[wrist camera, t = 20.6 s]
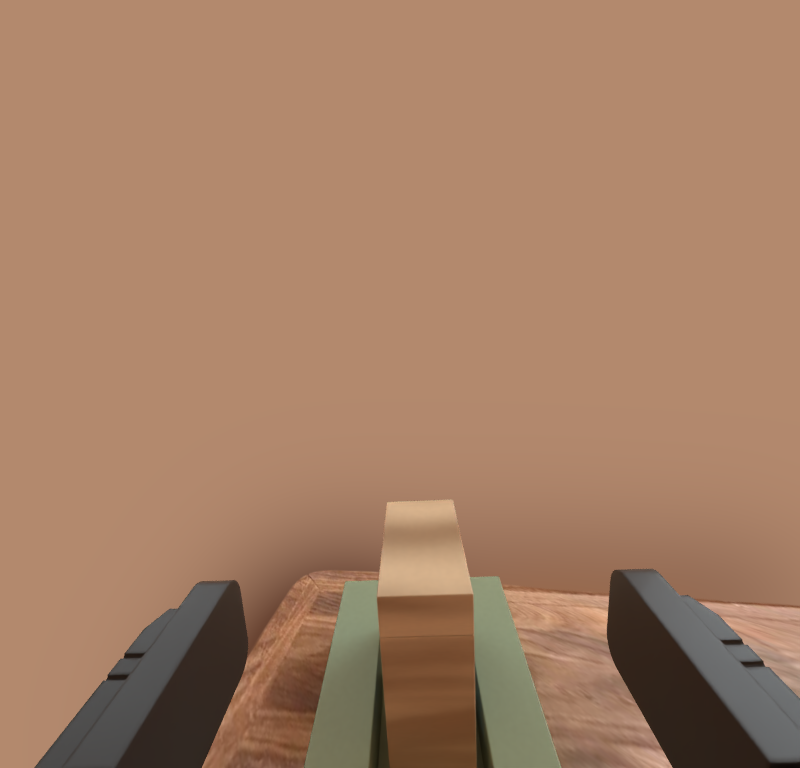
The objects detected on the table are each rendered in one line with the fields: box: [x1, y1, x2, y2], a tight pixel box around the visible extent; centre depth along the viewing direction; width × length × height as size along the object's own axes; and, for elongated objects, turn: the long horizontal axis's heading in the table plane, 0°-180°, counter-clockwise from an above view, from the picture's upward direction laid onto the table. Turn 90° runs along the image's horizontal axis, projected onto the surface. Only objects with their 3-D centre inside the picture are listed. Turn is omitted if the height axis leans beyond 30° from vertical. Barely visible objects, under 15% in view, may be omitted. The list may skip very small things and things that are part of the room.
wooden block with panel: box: [377, 500, 477, 768], centre depth 22 cm, size 8×4×12 cm, turn 179°
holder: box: [304, 576, 561, 768], centre depth 23 cm, size 16×12×4 cm
